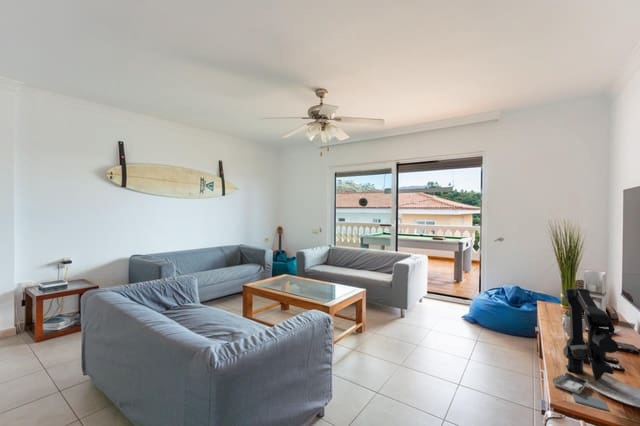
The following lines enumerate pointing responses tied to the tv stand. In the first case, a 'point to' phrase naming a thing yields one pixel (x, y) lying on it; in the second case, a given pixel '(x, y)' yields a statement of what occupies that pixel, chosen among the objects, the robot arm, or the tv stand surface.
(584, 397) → the mat
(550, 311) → the tv stand surface
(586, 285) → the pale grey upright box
